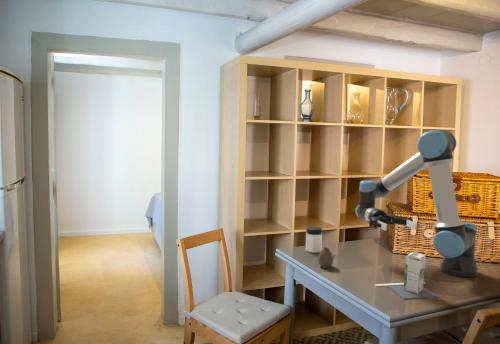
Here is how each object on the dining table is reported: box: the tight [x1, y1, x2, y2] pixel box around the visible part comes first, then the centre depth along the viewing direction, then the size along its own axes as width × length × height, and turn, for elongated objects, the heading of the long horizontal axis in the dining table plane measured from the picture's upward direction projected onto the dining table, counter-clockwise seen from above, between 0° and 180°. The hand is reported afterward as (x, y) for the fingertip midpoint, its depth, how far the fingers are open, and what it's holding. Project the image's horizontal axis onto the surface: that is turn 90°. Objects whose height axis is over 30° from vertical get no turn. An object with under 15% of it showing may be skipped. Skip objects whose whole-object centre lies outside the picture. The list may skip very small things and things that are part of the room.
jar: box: [305, 225, 323, 254], centre depth 213 cm, size 9×8×12 cm
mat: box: [386, 285, 438, 300], centre depth 160 cm, size 14×12×1 cm
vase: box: [317, 246, 334, 269], centre depth 188 cm, size 7×7×9 cm
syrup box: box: [403, 251, 426, 294], centre depth 160 cm, size 6×6×14 cm
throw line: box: [374, 281, 426, 287], centre depth 168 cm, size 22×2×1 cm, turn 101°
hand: (401, 226), depth 169 cm, fingers open, 13 cm apart
